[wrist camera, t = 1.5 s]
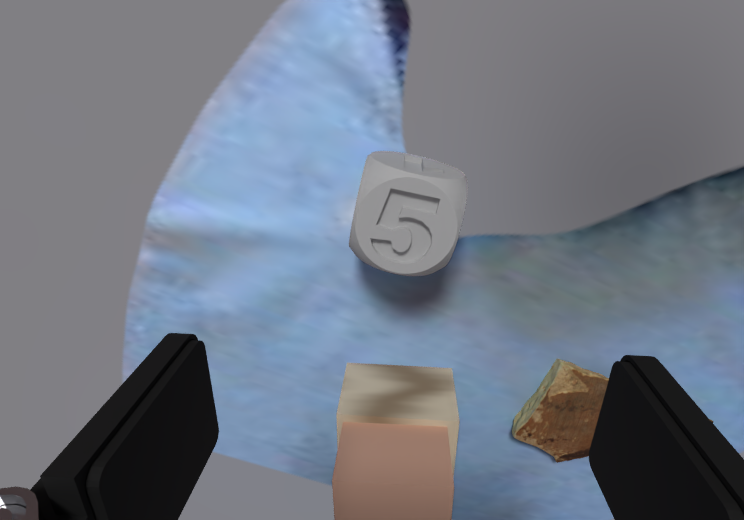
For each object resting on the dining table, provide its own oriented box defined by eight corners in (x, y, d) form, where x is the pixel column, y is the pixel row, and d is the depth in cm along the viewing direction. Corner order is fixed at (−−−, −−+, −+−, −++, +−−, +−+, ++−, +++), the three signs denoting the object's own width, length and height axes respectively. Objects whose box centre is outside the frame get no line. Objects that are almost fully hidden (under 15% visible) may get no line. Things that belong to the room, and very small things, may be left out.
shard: (700, 405, 30) (717, 425, 28) (630, 478, 33) (642, 499, 31) (558, 348, 29) (567, 365, 27) (499, 428, 32) (504, 447, 30)
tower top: (447, 426, 25) (454, 487, 22) (441, 500, 28) (447, 566, 24) (342, 421, 26) (332, 480, 22) (346, 494, 28) (337, 559, 24)
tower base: (451, 366, 30) (459, 421, 25) (443, 445, 32) (449, 507, 28) (347, 361, 30) (336, 414, 26) (348, 439, 33) (339, 499, 28)
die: (461, 164, 24) (473, 187, 20) (438, 247, 26) (444, 285, 22) (372, 145, 24) (363, 163, 20) (355, 229, 26) (344, 264, 22)
